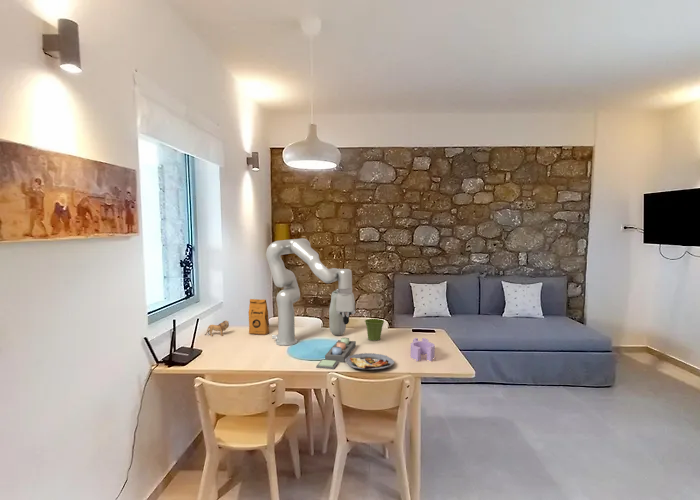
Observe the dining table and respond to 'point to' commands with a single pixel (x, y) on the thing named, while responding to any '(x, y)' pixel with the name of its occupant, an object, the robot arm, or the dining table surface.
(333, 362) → the card
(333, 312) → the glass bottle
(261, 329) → the coffee package
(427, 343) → the clip
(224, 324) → the lion figurine
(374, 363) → the food plate
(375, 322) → the plant pot
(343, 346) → the peach rounded dome
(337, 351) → the slate button
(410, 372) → the dining table surface
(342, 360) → the button panel
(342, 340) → the sage button
